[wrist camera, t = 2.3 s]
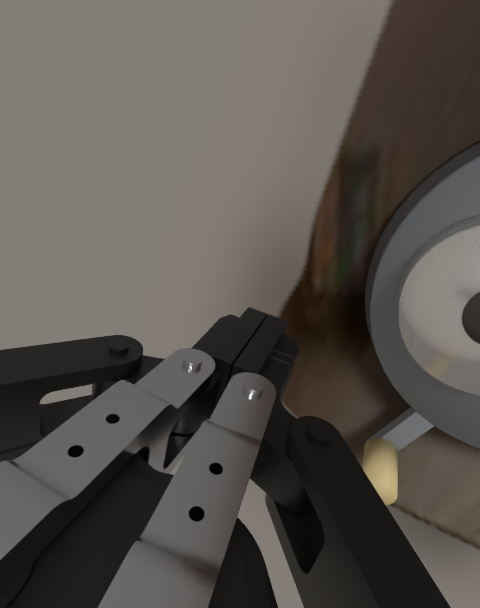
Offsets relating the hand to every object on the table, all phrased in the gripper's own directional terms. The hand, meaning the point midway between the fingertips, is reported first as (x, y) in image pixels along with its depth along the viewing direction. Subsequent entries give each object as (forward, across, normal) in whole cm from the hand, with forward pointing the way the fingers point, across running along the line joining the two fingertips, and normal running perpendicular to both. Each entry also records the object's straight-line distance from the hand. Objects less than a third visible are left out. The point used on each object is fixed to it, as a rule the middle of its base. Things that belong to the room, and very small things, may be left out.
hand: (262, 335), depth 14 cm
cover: (+13, -10, 0) cm, 17 cm away
